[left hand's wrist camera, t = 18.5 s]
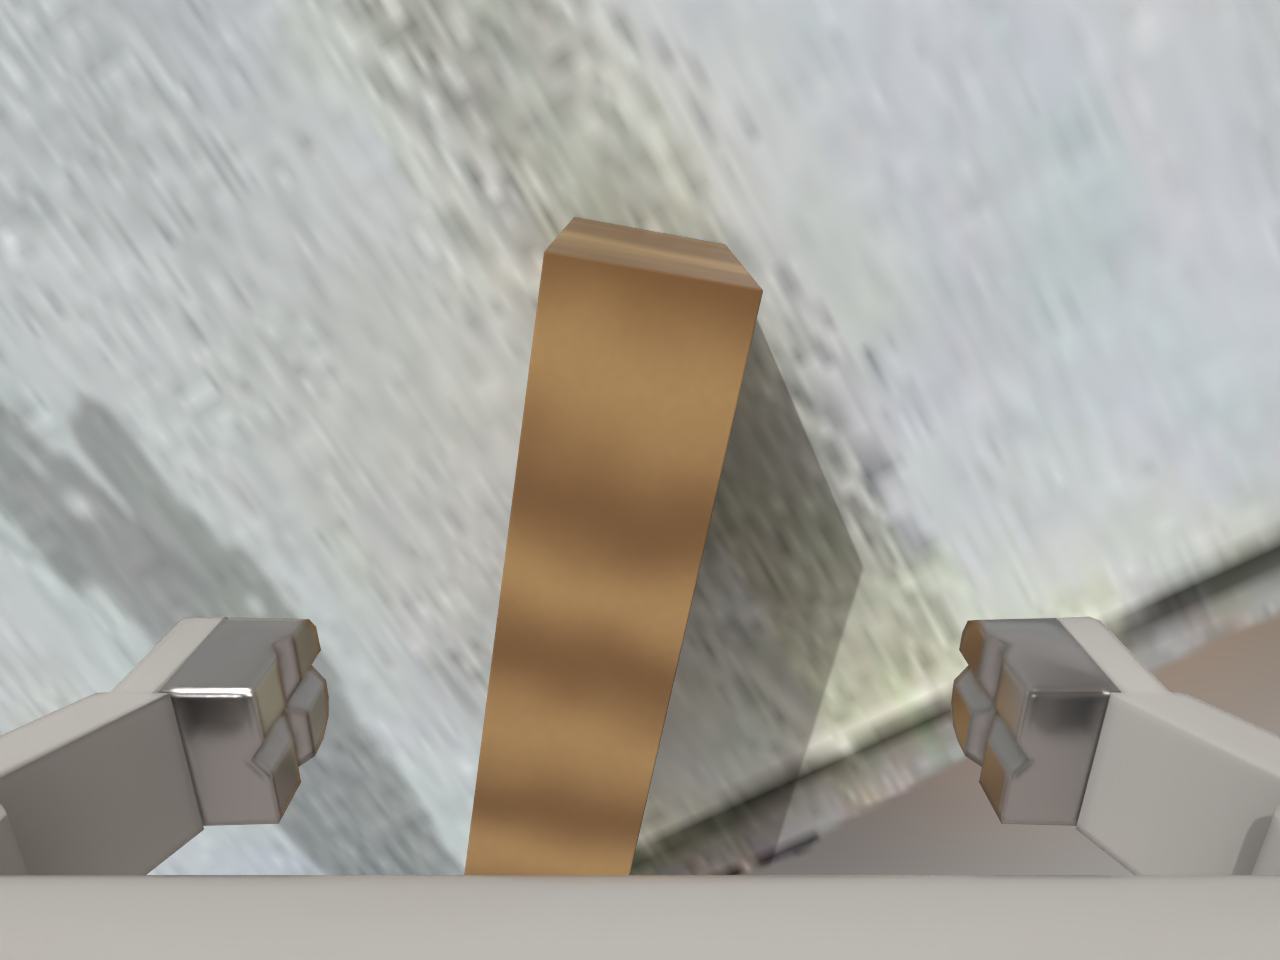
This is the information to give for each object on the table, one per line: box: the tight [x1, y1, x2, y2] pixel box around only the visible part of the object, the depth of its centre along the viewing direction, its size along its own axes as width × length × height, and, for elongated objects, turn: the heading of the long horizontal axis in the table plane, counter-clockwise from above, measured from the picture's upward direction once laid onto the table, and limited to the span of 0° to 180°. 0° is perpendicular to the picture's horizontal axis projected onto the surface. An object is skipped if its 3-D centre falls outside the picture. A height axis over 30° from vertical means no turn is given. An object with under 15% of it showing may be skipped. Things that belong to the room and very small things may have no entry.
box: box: [465, 217, 763, 875], centre depth 32 cm, size 25×6×11 cm, turn 170°
